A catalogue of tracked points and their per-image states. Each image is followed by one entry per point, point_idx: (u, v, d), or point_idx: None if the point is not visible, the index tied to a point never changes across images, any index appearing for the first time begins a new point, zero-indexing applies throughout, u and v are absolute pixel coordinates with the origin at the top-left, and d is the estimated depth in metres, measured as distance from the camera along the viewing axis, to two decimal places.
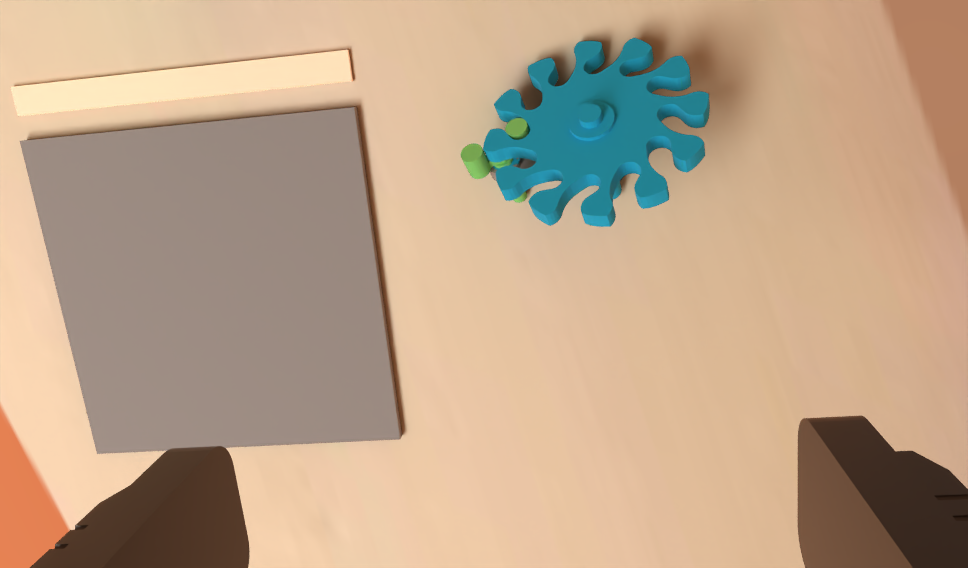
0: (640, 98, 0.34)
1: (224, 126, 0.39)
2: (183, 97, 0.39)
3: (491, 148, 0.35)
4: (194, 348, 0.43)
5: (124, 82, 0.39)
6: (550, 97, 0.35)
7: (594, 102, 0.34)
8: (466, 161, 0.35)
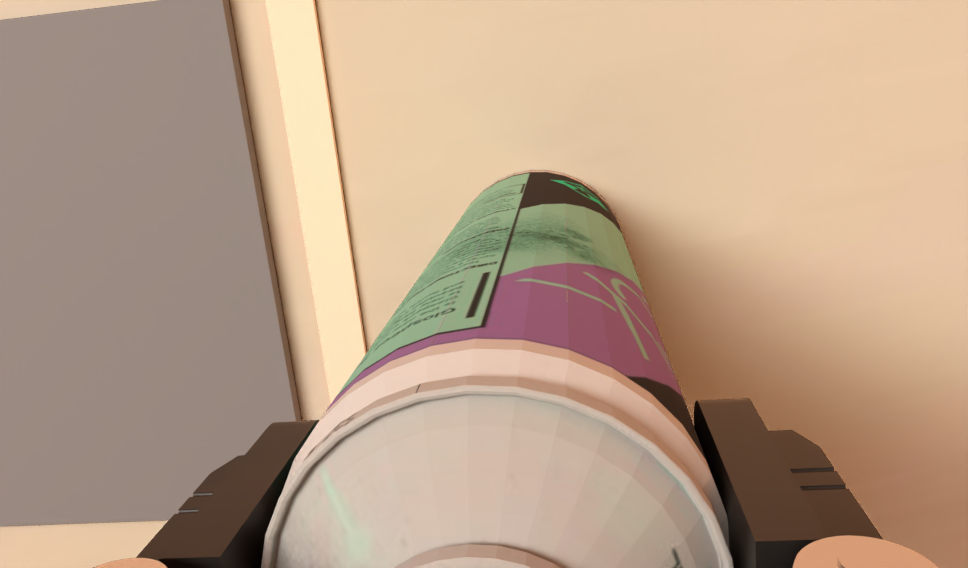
0: None
1: (272, 339, 0.27)
2: (312, 276, 0.26)
3: None
4: None
5: (328, 186, 0.25)
6: None
7: None
8: None
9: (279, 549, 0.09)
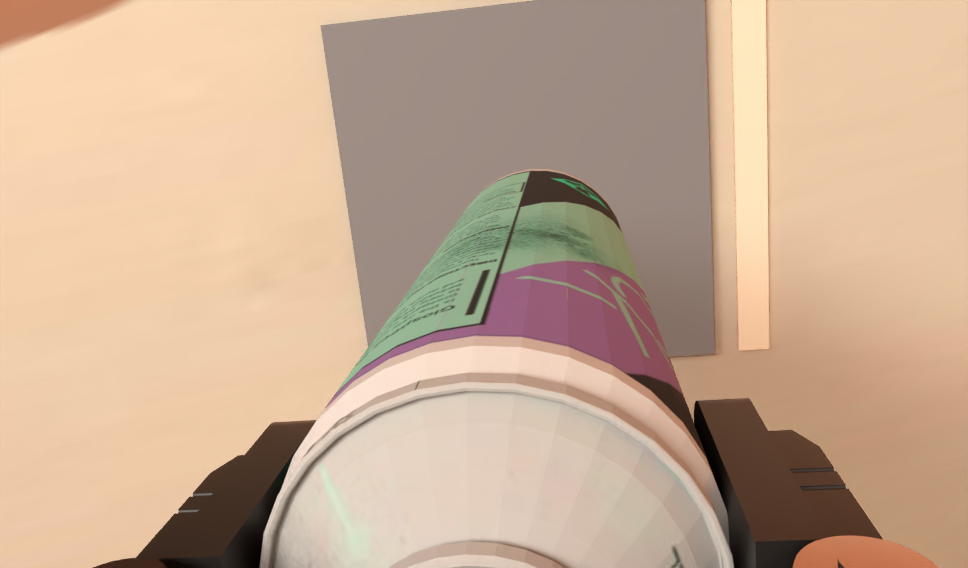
0: None
1: (705, 224, 0.38)
2: (736, 179, 0.38)
3: None
4: (460, 164, 0.38)
5: (758, 114, 0.37)
6: None
7: None
8: None
9: (278, 547, 0.09)
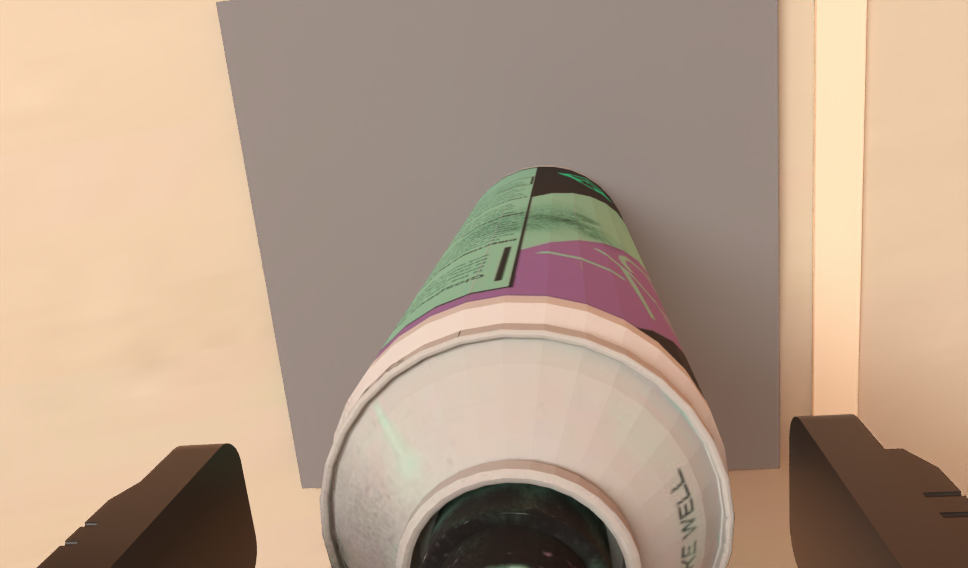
0: None
1: (769, 288, 0.26)
2: (817, 224, 0.26)
3: None
4: (420, 201, 0.27)
5: (851, 132, 0.25)
6: None
7: None
8: None
9: (336, 477, 0.10)
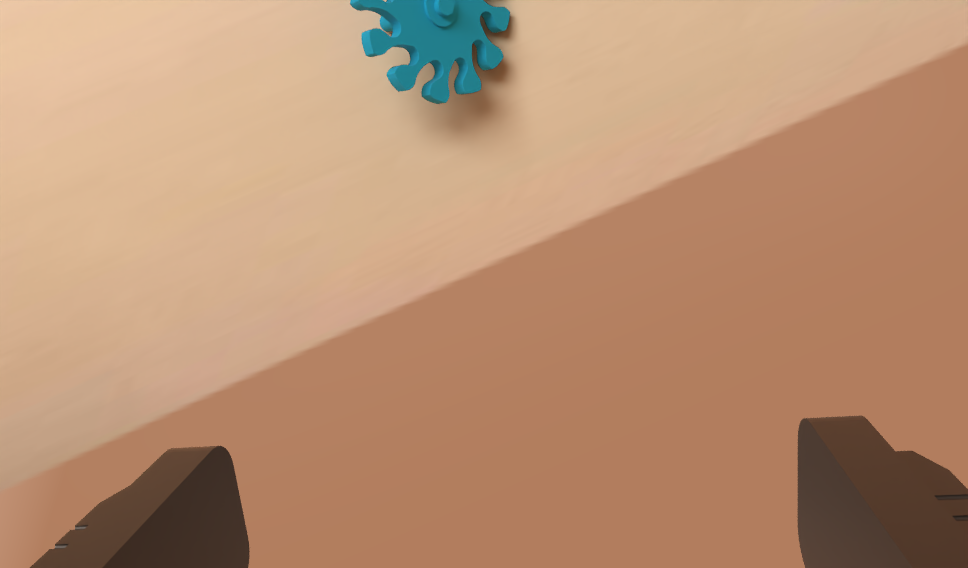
0: (452, 50, 0.43)
1: None
2: None
3: None
4: None
5: None
6: None
7: (455, 12, 0.42)
8: None
9: None
